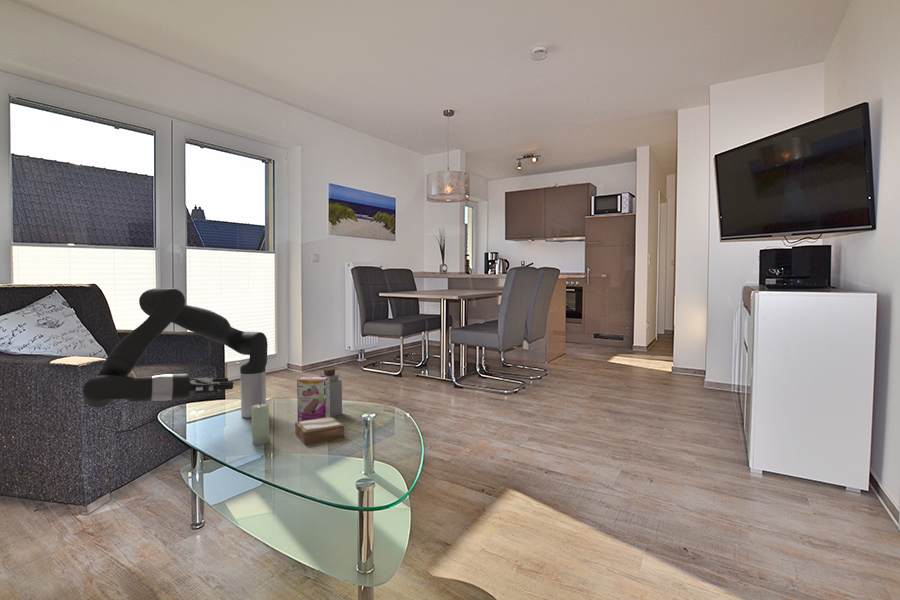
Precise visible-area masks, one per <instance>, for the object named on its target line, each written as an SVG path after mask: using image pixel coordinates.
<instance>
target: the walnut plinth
mask: <svg viewBox="0 0 900 600" xmlns="http://www.w3.org/2000/svg"><path fill="white" fill-rule="evenodd" d="M294 425H295V426H294V428H295V430H294V432H295V435H296V437H297V438H298V439H299V440H300V441H301V442H302V444H304V446H305V445H311V444H315V443H321V442H327V441H331V440H332V441H333V440H337V439H343V438H345V425H344V424H343V423H342V422H340V421H339V420H338V419H336V418H335V416H331V417H325V418H319V419H313V420H307V421H300V422H298V421H296V422H294Z"/></svg>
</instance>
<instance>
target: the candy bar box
mask: <svg viewBox="0 0 900 600" xmlns="http://www.w3.org/2000/svg"><path fill="white" fill-rule="evenodd" d="M296 382H297V383H296V389H297V390H296V391H297V395H296V396H297V397H296V398H297V422H300V421H307V420H313V419H319V418H325V417H330V378H327V377H321V376H320V377H317V376H316V377H315V376H302V377H299V378H298V379H296Z"/></svg>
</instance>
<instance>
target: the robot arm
mask: <svg viewBox="0 0 900 600" xmlns="http://www.w3.org/2000/svg"><path fill="white" fill-rule="evenodd" d="M138 303H139V307H140V309H141V310H142V312H143V313H145V314H146V315H147V316H148V317H147V318H146V319H145V320H144V321H143V322H142V323H141V324H139V325H138V327H136V328H134V330H132V331H130V333H127V335H125V336H124V337H123V338H122V339H121V340H120V341H119V342H118V343H117V344H116V345H115V347H113V349H112V350H111V352H110V353H109V355H108V356H107V357H106V359H105V360H104V362H103V365H102V368H101V370H100V371H99V373H98V374H97V375H95V376H94V377H90V378H89V379H88V380H86V381H85V383H84V384H83V386H82V395H83V400H84V402H85V403H86V404H87V405H88V406H90V407H91V408H102V407H105V406H107V405H110V403H112V402H113V401H114V400H126V401H128V402H132V403H133V402H134V403H135V402H136V403H137V402H150V401H151V402H152V401H153V402H154V401H156V402H157V401H158V402H160V401H161V402H162V401H175V400H176V401H177V400H187V399H189V398H190V393H191V392H194V394H204V393H205V394H207V393H218V392H219V391H223V390H224V391H225V390H233V389H234V382H233V381H229V378H228V377H221V378H220V377H218V378H215V377H211V376H208V377H196V378H194V377H192V378H190V374H189V373H173V374H172V373H169V374H168V373H167V374H166V373H165V374H158V375H148V376H145V375H143V376H129V374H130V373H131V372H132V371H133V369H134V368H135V367H136V365H137V364H138V362H140V360H141V359H142V357H143V355H144V354H145V353H146V351H147V350H148V348H149V347H150V346H151V345H152V344H153V342H154V341H155V340H156V339H157V338H158V337H159V336H160V334H162V333H163V332H164V331H165V330H166V329H167V327H168V326H169V325H170V324H172V323H173V324H175V325H176V326H178V327H181V328H183V329H185V330H187V331H190V332H192V333H194V334H197V335H198V336H201V337H203V338H205V339H208V340H211V341H213V342H215V343H218V344H222V345H225V346H226V347H228V348H229V349H232V350H233V351H234V352H236V353H238V354H240V355H243V356H249V359H248V362H247V363H243V364H242V365H241V366H240V368H239V370H240V371H239V373H240V375H239V376H240V377H239V378H240V401H241V402H240V412H241V417H242V418H244V417H245V418H244V419H249V418H250V419H252V410H251V407H252V406H254V405H258V404H260V403H261V404H267V381H266V379H267V378H266V367H267V364H268V363H267V362H268V346H269V345H268V338H267V336H266V334H265V333H264V332H260V331H243V330H240V329H237V328H235V327H233V326H231V324H230V322H229V320H228V319H227V318H225V317H224V316H222V315H220V314H218V313H216V312H215V311H212V310H209V309H207V308H202V307H197V306H192V305H188V304H186V297H185V295H184V293H183V292H182V291H180V289H177V288H175V287H157V288H156V287H155V288H151V289H150V288H149V289H147V290H146V291H144V292H142V293H141V294H140V296H139V298H138Z"/></svg>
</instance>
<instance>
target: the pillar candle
mask: <svg viewBox="0 0 900 600" xmlns="http://www.w3.org/2000/svg"><path fill="white" fill-rule="evenodd" d="M251 410H252V418H251V436H252V437H251V438H252V439H251V442H252V445H254V446H262V445H266V444H269V443H270V406H269V404H267V403H266V404H261V403H260V404H258V405H254V406H252V407H251Z"/></svg>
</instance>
